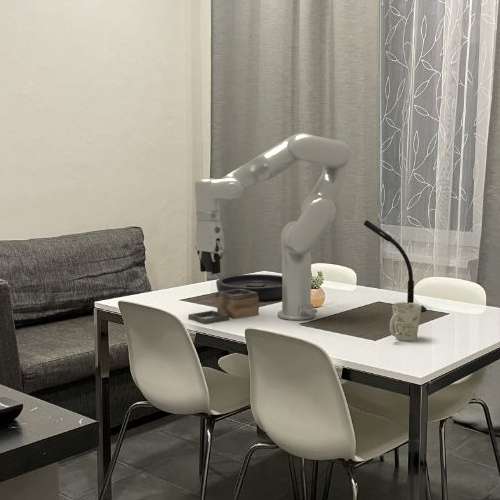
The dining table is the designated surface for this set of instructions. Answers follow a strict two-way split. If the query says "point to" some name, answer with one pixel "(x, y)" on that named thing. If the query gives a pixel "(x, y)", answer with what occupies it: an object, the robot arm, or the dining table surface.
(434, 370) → the dining table surface
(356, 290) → the dining table surface
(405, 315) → the mug
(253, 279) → the round tray
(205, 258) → the light bulb
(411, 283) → the microphone
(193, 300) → the dining table surface
